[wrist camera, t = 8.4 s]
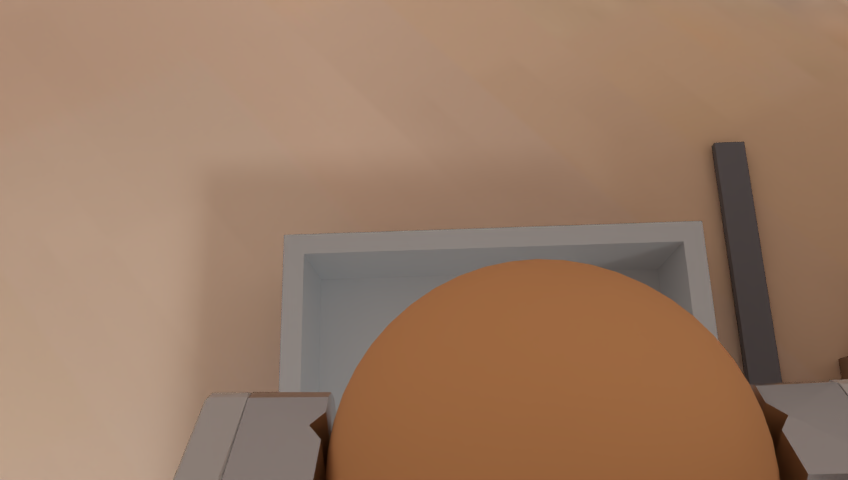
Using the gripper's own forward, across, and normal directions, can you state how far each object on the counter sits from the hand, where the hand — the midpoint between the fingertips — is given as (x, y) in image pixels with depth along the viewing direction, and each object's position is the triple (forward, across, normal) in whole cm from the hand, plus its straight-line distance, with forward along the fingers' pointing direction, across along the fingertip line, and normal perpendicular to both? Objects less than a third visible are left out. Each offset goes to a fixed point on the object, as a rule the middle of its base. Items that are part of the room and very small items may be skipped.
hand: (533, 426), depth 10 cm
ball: (-1, 0, 0) cm, 1 cm away
